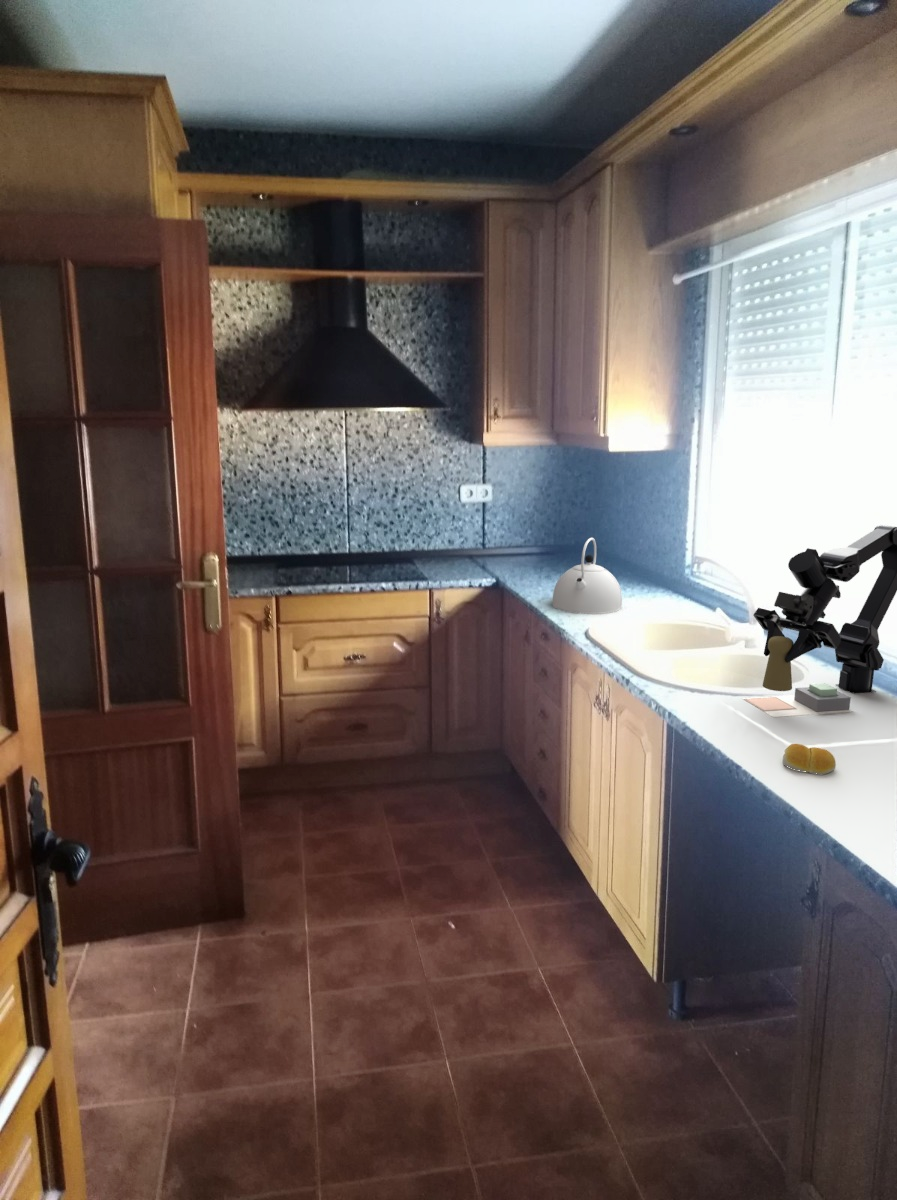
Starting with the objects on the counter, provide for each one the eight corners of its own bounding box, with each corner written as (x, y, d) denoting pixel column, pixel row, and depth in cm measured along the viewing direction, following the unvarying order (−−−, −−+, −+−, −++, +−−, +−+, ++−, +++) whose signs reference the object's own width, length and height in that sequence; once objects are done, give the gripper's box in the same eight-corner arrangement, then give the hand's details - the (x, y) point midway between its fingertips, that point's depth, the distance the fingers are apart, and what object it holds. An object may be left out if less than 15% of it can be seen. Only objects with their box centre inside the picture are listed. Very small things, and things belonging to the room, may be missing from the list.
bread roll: (835, 779, 156) (838, 758, 155) (782, 771, 159) (784, 750, 158) (833, 762, 163) (836, 741, 162) (782, 754, 166) (784, 735, 165)
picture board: (817, 696, 200) (818, 681, 199) (851, 714, 188) (853, 698, 188) (742, 701, 196) (743, 686, 195) (772, 719, 184) (774, 704, 183)
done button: (824, 693, 194) (825, 683, 194) (836, 699, 190) (837, 688, 190) (808, 694, 193) (809, 684, 193) (819, 700, 189) (821, 689, 189)
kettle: (612, 618, 271) (616, 546, 266) (541, 611, 279) (544, 541, 274) (628, 602, 293) (632, 536, 288) (562, 596, 302) (565, 531, 297)
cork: (789, 683, 191) (793, 634, 188) (794, 692, 185) (799, 641, 182) (760, 681, 192) (764, 632, 189) (764, 690, 186) (768, 640, 184)
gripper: (762, 571, 193) (724, 626, 190) (838, 586, 177) (797, 646, 174) (782, 601, 199) (746, 655, 196) (857, 618, 183) (819, 677, 180)
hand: (775, 658), depth 186 cm, fingers closed on cork, 5 cm apart
